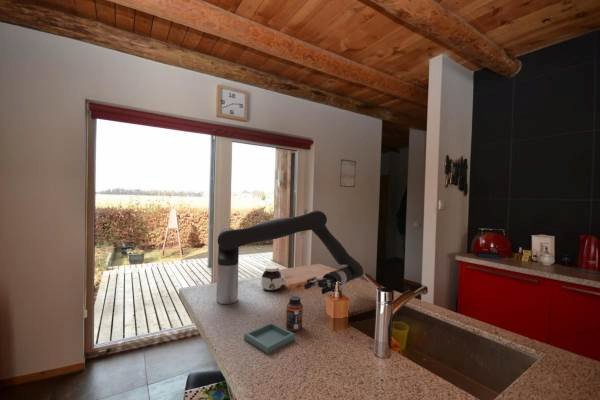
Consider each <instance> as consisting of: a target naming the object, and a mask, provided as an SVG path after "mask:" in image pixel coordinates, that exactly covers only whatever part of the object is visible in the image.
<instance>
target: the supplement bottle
mask: <svg viewBox="0 0 600 400" xmlns="http://www.w3.org/2000/svg"><path fill="white" fill-rule="evenodd" d="M302 303H303V302H301V297H300V296H298V295H293V296H289V302H288V303H287V304H286V322H285V325H286V328H285V329H286V330H288V331H290V332H299V331H301V330H302V329H303V316H304V315H303V311H304V309H303V304H302Z"/></svg>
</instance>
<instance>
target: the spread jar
mask: <svg viewBox="0 0 600 400" xmlns="http://www.w3.org/2000/svg"><path fill="white" fill-rule="evenodd" d="M281 282H284V283H285V282H287V279H286V277H285V276H284V275H283V274H282V273H281V272H280V270H279V266H278V265H267V266H265V269H264V272H263V273H262V275H261V287H262V289H263V290H264V291H265V292H278V290H279V289H280V288H281Z"/></svg>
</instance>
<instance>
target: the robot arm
mask: <svg viewBox="0 0 600 400" xmlns="http://www.w3.org/2000/svg"><path fill="white" fill-rule="evenodd" d="M327 222H328V218H327V215H326V214H325V213H324V212H323V211H321V210H312V211H309V212H308V213H305V214H301V215H297V216H289V217H281V218H280V217H279V218H274V219H269V220H265V221H262V222H259V223H256V224H254V225H251V226H249V227H243V228H237V229H236V228H235V229H234V228H232V227H227V228H224V229H222V230H221V231H220V233H219V235H218V237H217V244H218V250H217V251H218V254H217V279H216V297H215V299H216V301H217V303H218V304H220V305H231V304H234V303H236V302H237V301H238V298H239V297H238V296H239V254H240V252H239V251H240V250H239V249H240V247H243V246H245V245H250V244H255V243H261V242H266V241H272V240H277V239H281V238H285V237H289V236H291V235H294V234H297V233H300V232H305V231H312V232H313V233H314V234H315V236H317V238H318V239H319V240H320V242H322V244H323V245H324V246H325V247H326V249H327V251H328V252H329V253H330V254H331V257H332V258H334V261H335V262H336V263H337V264H338V265H340V266H344V267H341V268H339V269H336V270H332V271H329V272H326V273H325V274H324V275H323V276H322V278H317V277H316V276H313V277H311V278H309V279H306V283H304V288H303V289H304V290H308V289H310V288H311V289H312V288H315V289H319V288H320V289H321V295H325V294H327V293H333V292H334V289H335V285H336V282H337V281H339V282H341V283H340V289H341V290H342V287H343V286H344V285H346V284H348V283H349V282H350V281H353V280H357V278H361V277H362V276H363V275H364V268H363V266H362V265H361V263H360V262H359V261H357V260H356V259H355V258H354V257H352V256H351V255H350V254H349V253H348V252H347V250H346V249H345V247H344V246H343V245H342V243H341V242H340V241H339V240H338V239H337V238H336V237H335V236H334V235H333V234H332V233H331V232H330V230H329V229H328V228H327V226H326V225H327ZM345 265H346V266H345ZM317 284H318V285H317Z"/></svg>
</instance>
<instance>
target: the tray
mask: <svg viewBox="0 0 600 400" xmlns="http://www.w3.org/2000/svg"><path fill="white" fill-rule="evenodd" d="M243 334H244V337H243V339H244V341H245V342H247V343H248V344H249V345H251V346H252V347H254V348H256V349H258V350H260V351H261V352H263V353H264V354H266V355H267V356H268V355H269V354H271V353H273V352H276V351H278V350H279V349H280V348H283V347H284V346H287V345H288V344H290V343H292V342H295V341H296V340H295V339H296V334H295V333H294V332H293V331H290V330H288V329H287V328H284V327H282V326H280V325H278V324H276V323H274V322H272V321H270V322H268V323H266V324H263V325H261V326H259V327H257V328H254V329H252V330H250V331H248V332H245V333H243Z"/></svg>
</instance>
